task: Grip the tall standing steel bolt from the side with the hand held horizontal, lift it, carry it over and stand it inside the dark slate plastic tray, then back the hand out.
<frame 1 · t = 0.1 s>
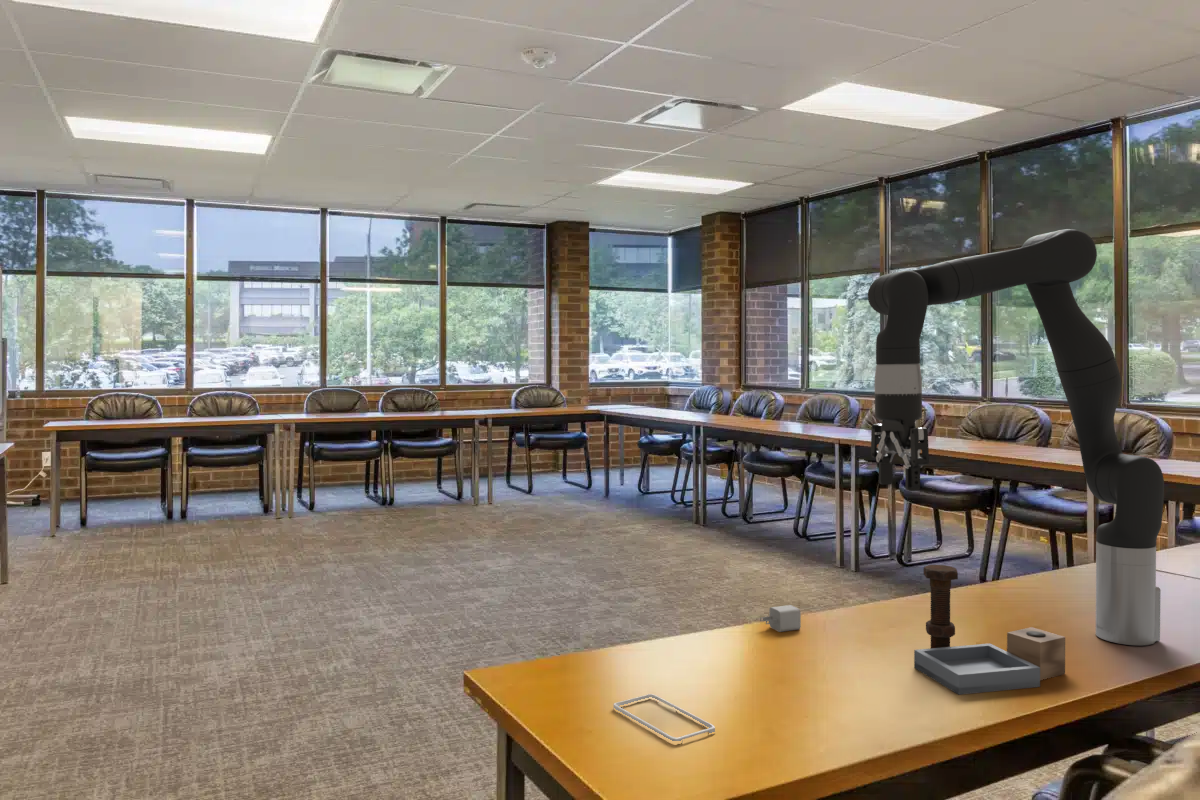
hand: (898, 487, 146), 29 cm above the table, tool pointing down, fingers open, 8 cm apart
phone case: (662, 725, 122), on the table
tray: (975, 676, 137), on the table
usb wall charger: (779, 630, 164), on the table
bolt: (940, 655, 148), on the table
gauge block: (1035, 671, 140), on the table
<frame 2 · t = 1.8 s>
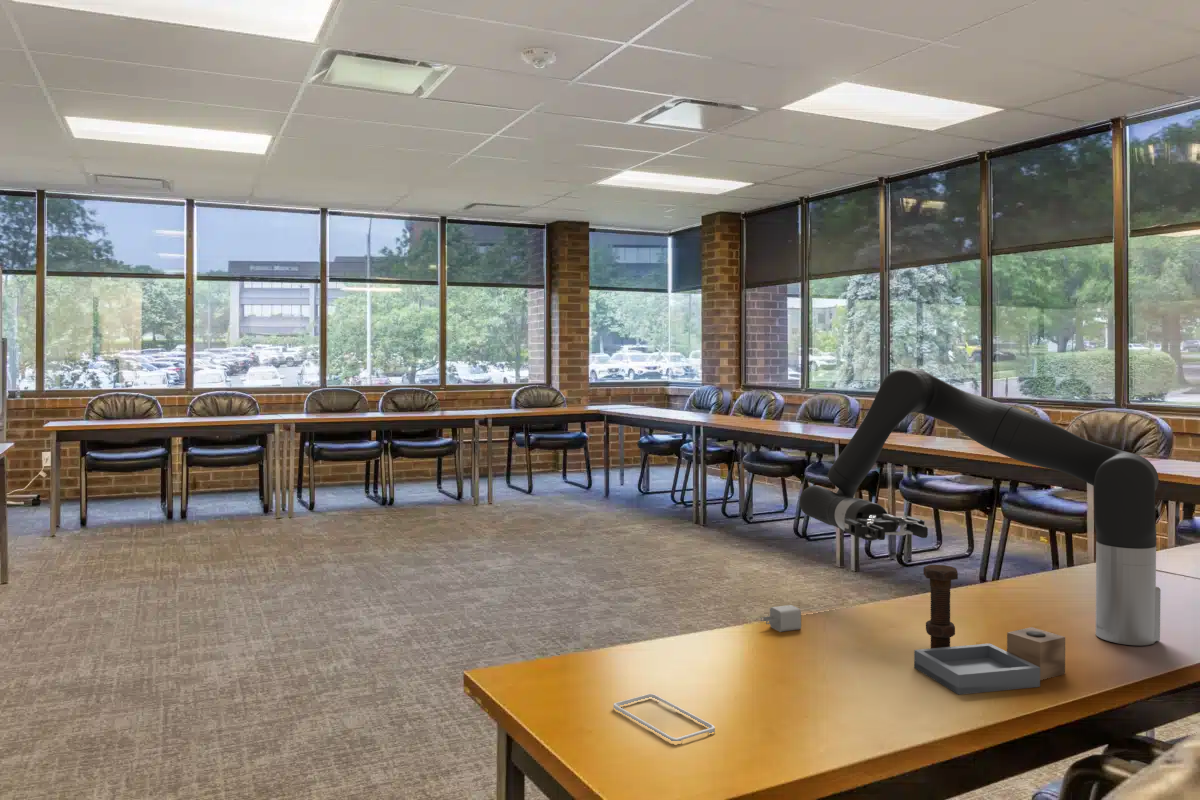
hand: (904, 533, 159), 19 cm above the table, tool horizontal, fingers open, 8 cm apart
nothing on the table moved.
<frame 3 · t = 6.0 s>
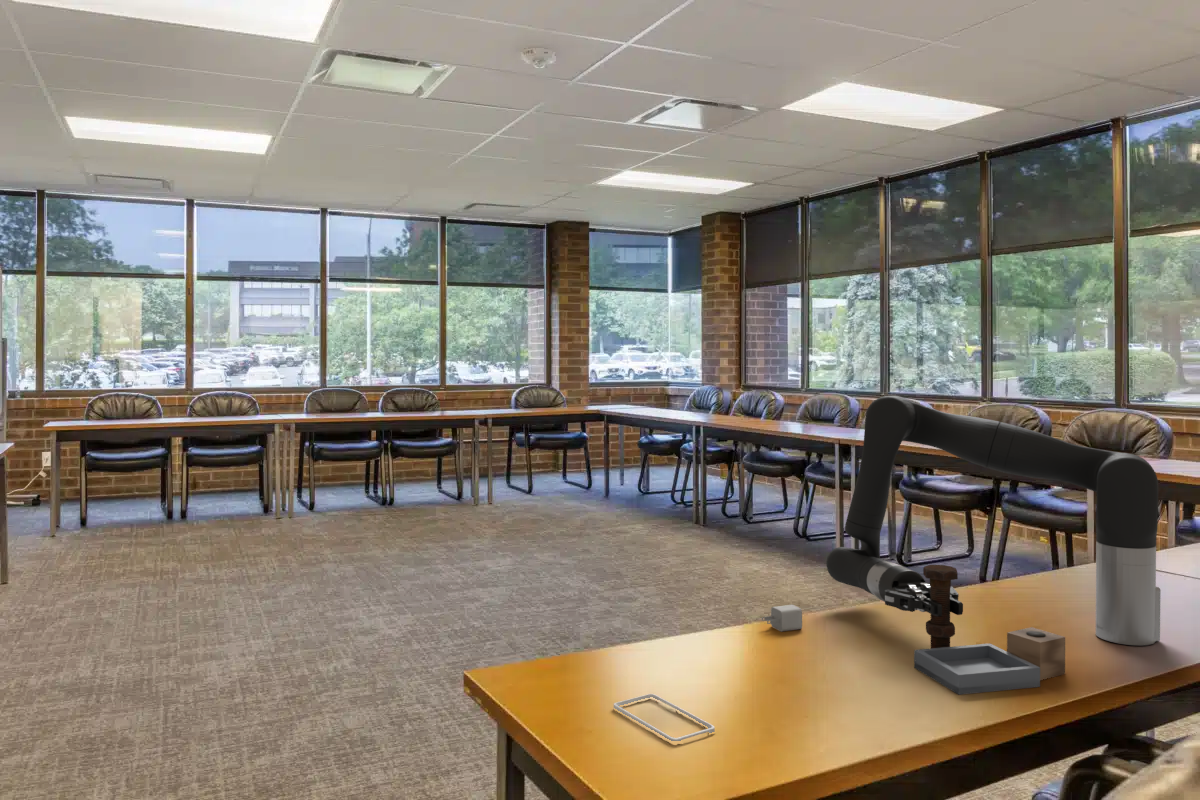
hand: (950, 609, 145), 9 cm above the table, tool horizontal, fingers closed on bolt, 3 cm apart
bolt: (940, 655, 148), on the table, touching gripper
everything else where it was.
when the fingers open (11 cm above the table, at t = 9.7 s): bolt drops 1 cm, resting on tray.
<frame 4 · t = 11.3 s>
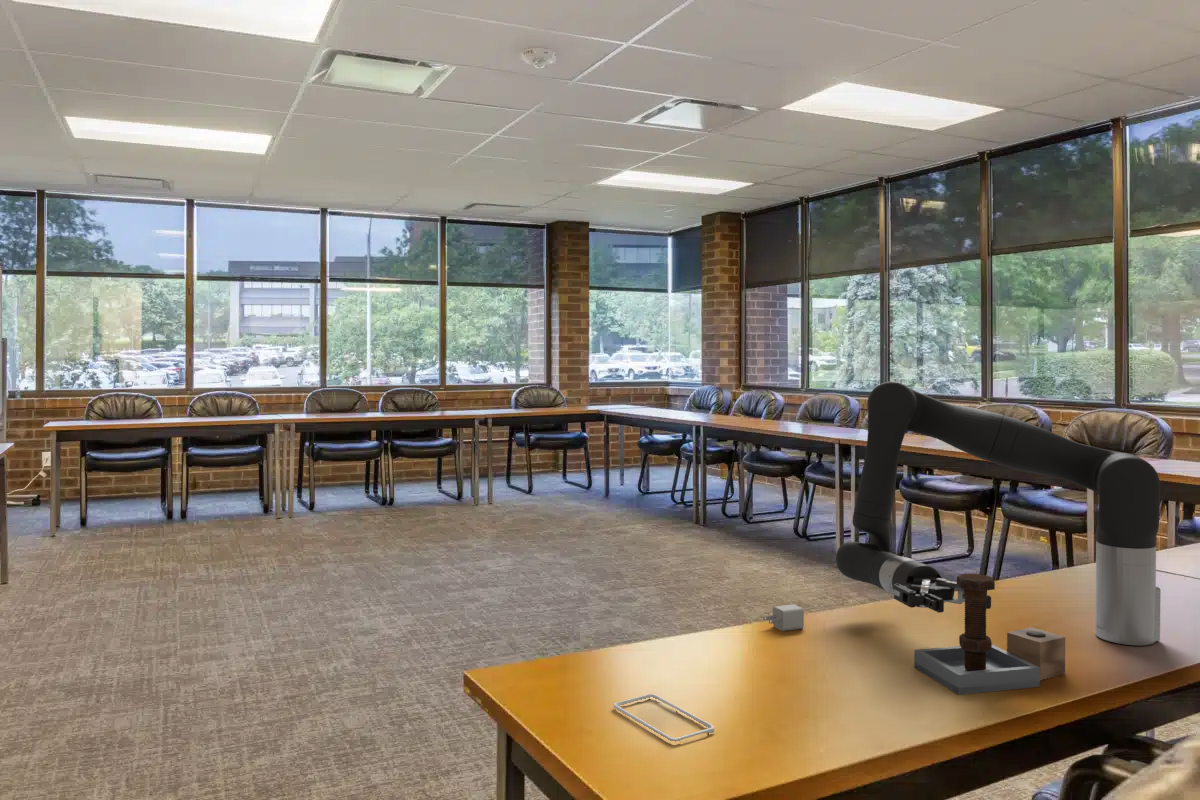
hand: (965, 604, 139), 11 cm above the table, tool horizontal, fingers open, 8 cm apart
bolt: (975, 671, 137), point 1 cm above the table, touching tray
everything else where it was.
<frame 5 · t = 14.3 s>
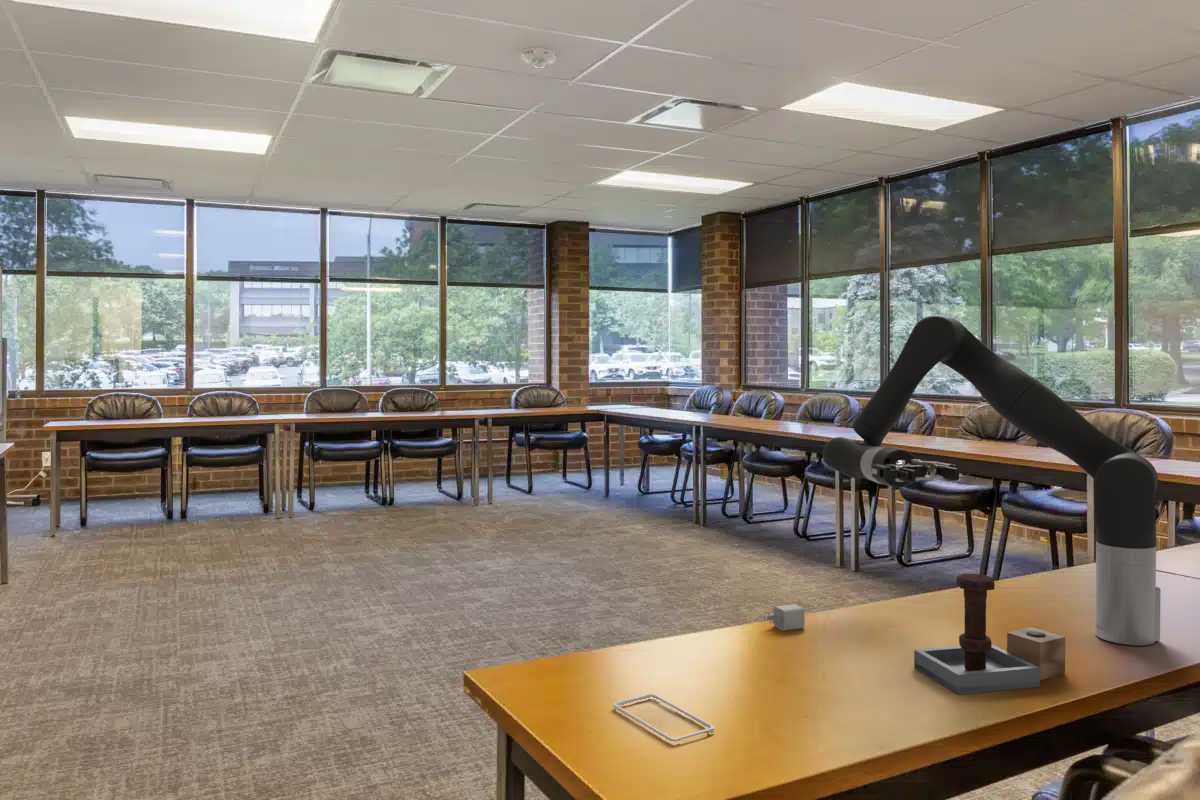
hand: (935, 475, 154), 30 cm above the table, tool horizontal, fingers open, 8 cm apart
at the end: bolt inside the target area on the tray (0.1 cm from its centre), point 0.8 cm above the tray's base; bolt tilted 0°; the gripper is holding nothing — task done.
